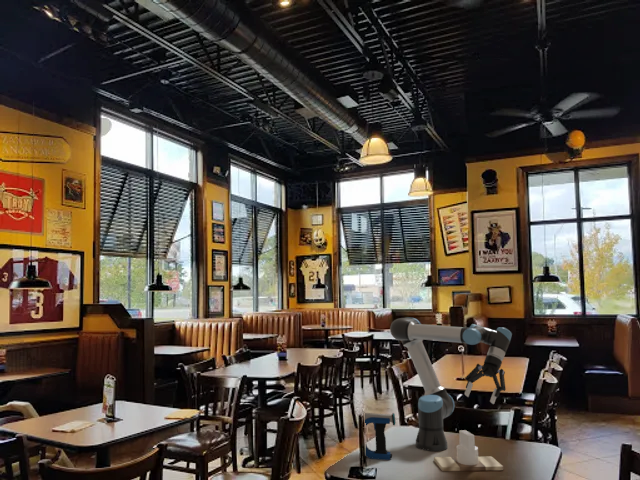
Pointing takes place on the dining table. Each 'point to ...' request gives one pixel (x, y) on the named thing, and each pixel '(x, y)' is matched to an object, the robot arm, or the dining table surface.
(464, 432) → the base with upright slab
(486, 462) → the pine board
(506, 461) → the dining table surface
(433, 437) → the robot arm
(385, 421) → the cordless power drill
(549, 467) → the dining table surface
